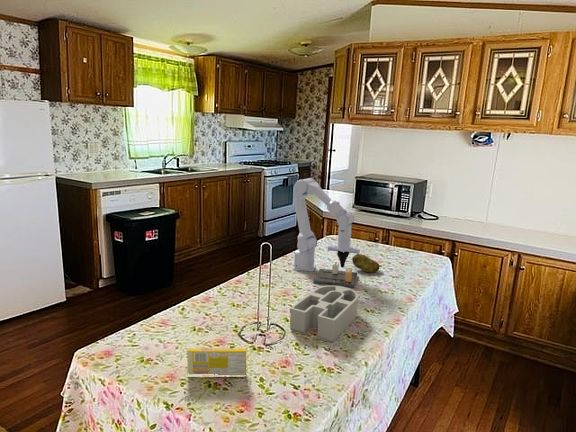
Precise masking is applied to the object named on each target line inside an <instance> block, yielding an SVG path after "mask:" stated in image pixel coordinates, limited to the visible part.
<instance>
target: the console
mask: <svg viewBox="0 0 576 432" xmlns="http://www.w3.org/2000/svg"><path fill="white" fill-rule="evenodd" d="M345 274H346V270H338V274H332V269H330V268H329V269H327V268H319V270H318V271H317V273H316V275H315V276H314V279H313V280H312V283H313V284H315V283H317V285H322V286H330V285H333V286H342V287H347V288H350V289H355V285H356V281H357V278H358V272H356V271H355V272H354V271H352V278H351V282H346V281H345Z"/></svg>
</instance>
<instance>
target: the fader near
mask: <svg viewBox="0 0 576 432" xmlns="http://www.w3.org/2000/svg"><path fill="white" fill-rule="evenodd" d="M345 271H346V274H345V281H346V282H351V278H352V272H353V269H349V268H348V269H345Z"/></svg>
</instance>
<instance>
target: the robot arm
mask: <svg viewBox="0 0 576 432" xmlns="http://www.w3.org/2000/svg"><path fill="white" fill-rule="evenodd" d="M293 186H294V187H293V189H294V190H293V196H292V199H293V204H294V208H295V209H294V211H295V214H296V219H297V226H298V230H299V233H298V235H297V245H296V247H297V249H296V250H295V252H294V259H293V260H294V264H293V265H294V267H293V270H295V271H296V270H297V271H303V270H304V271H303V272H314V271H315V269H316V267H317V266H316V265H315V248H316V247H317V246H318V240H317V238H316V235H315V233H314V232H313V231H312V230H311V229H312V228H311V225H310V224H311V223H310V218H309V214H308V208H307V204H306V198H307V197H308V196H309V195H314V196H316V198H318V200H320V201H321V202H322V203H323V204H324V205H326V210H327V211H328V212H329V213H330V214H331V216H332V217H334V218H335V219H336V222H337V225H338V231H337V232H338V234H337V235H338V236H337V237H338V238H337V245H327V252H336V255H337V258H338V260H339V265H340V268H344V267H345V264H346V261H347V259H348V257H349V256H350V254H361V253H360V250H361V249H360V248H356V247H352V246H351V242H352V241H351V240H352V239H351V238H352V223H354V221H355V217H354V214H353V213H352V212H351V211H348V210H347V209H345V208H344V207H343V206H342V205H341V203H340V202H339V201H337V200H332V198H331V197H330V196H329V195H328V194H327V193H326V192H325V191H324V189H322V187H321V186H320V184H319V183H318V182H317V181H316V180H315V179H314V178H312V177H308V178H304V179H303V178H302V179H299V180H297V181H296V182H295V183H294V184H293Z"/></svg>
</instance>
